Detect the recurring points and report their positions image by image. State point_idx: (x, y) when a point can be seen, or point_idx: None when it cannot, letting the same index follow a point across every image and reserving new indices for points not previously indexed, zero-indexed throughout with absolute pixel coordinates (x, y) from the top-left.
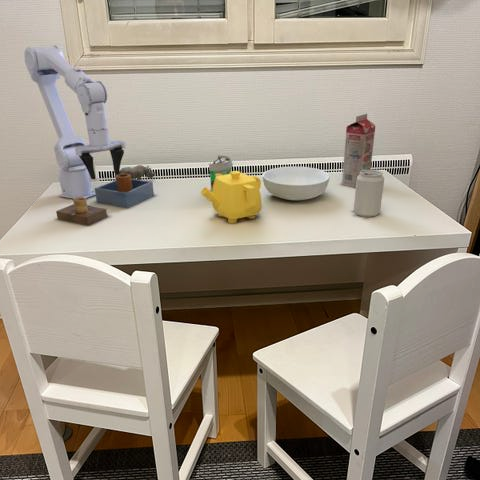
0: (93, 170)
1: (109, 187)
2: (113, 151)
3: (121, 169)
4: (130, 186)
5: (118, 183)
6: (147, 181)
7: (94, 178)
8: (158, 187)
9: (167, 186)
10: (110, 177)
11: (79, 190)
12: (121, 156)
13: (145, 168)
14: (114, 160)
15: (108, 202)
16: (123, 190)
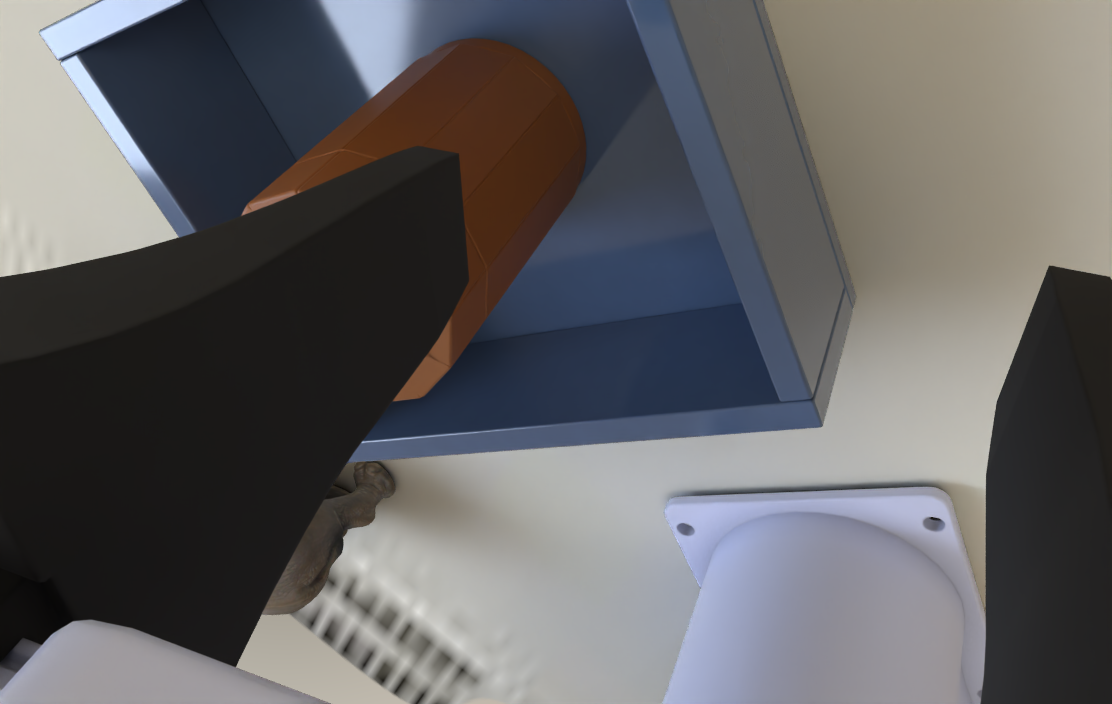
0: (1110, 396)
1: (579, 388)
2: (105, 600)
3: (276, 602)
4: (356, 116)
5: (487, 236)
6: (98, 103)
7: (1081, 277)
8: (89, 188)
9: (3, 143)
10: (391, 673)
11: (894, 605)
12: (6, 288)
13: None
14: (286, 419)
15: (789, 121)
16: (489, 125)
